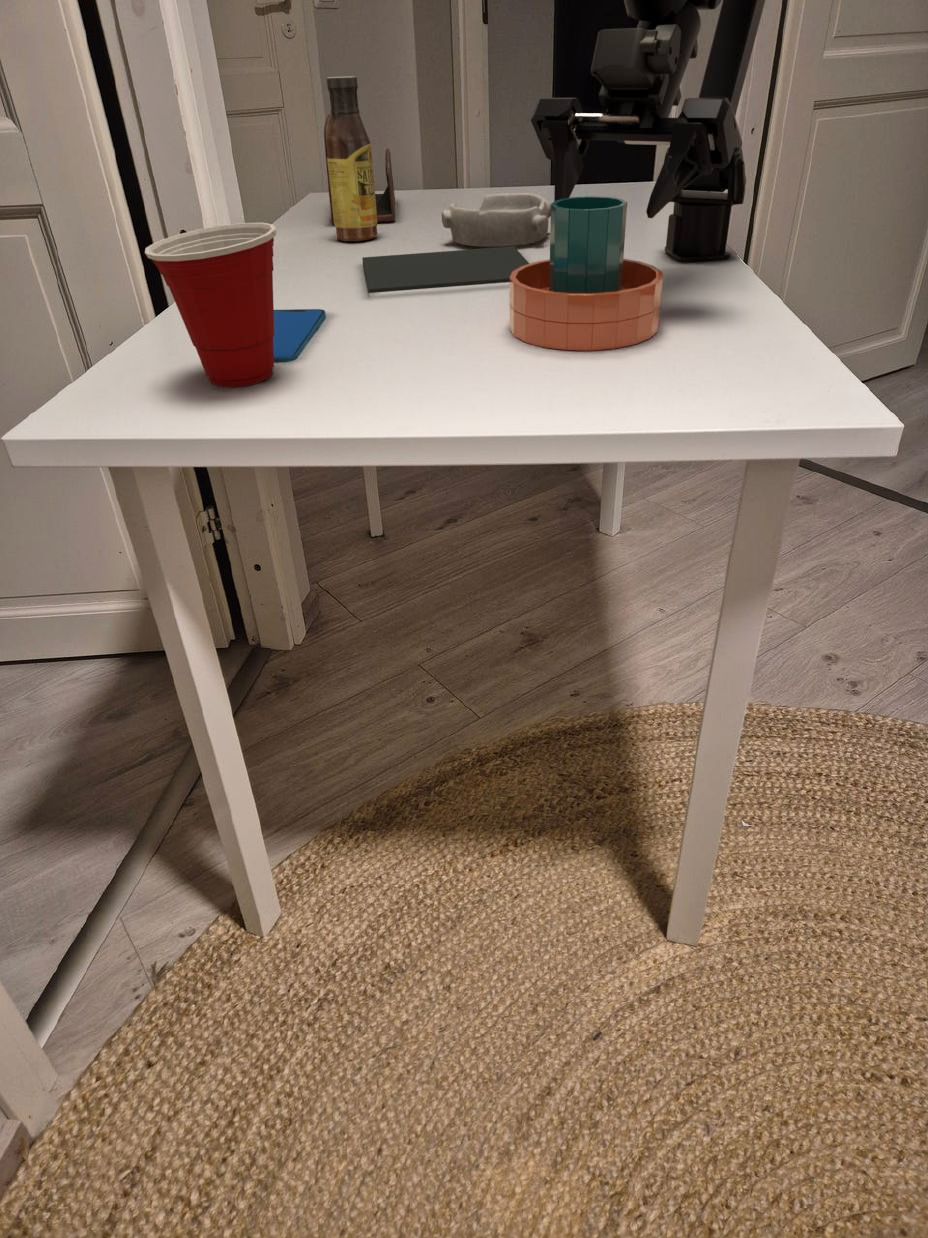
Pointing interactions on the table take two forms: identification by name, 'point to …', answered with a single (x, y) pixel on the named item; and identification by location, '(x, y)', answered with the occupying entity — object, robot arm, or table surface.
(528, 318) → the bowl
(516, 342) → the table surface
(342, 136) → the sauce bottle
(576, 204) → the tumbler
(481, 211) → the dish
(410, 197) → the table surface
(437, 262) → the mat
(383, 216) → the letter holder
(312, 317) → the smartphone
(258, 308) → the plastic cup
